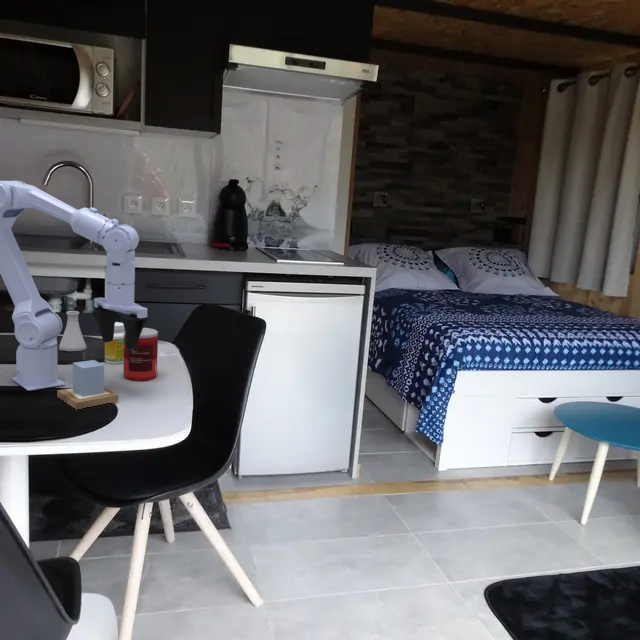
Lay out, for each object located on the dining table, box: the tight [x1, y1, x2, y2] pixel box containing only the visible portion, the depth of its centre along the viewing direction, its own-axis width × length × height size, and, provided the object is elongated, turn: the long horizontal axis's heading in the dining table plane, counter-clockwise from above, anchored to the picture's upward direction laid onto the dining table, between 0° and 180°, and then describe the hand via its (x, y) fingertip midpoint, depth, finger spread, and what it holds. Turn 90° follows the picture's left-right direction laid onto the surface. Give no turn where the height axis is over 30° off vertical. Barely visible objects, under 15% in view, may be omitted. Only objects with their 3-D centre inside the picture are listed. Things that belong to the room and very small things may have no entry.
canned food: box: [122, 327, 159, 382], centre depth 149 cm, size 8×8×11 cm
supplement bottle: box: [104, 321, 125, 365], centre depth 159 cm, size 5×5×10 cm
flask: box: [58, 310, 88, 352], centre depth 167 cm, size 7×7×10 cm
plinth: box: [56, 386, 120, 411], centre depth 132 cm, size 9×9×2 cm
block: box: [72, 359, 105, 397], centre depth 131 cm, size 4×4×6 cm
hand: (119, 344), depth 137 cm, fingers open, 7 cm apart
